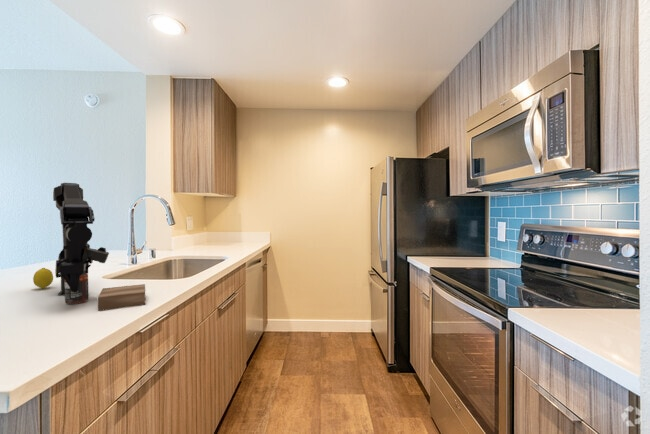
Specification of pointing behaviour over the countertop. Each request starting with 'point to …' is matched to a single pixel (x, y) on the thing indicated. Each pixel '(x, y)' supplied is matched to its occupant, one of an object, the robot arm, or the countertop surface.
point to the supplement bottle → (78, 291)
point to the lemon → (43, 278)
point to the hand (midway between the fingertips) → (76, 289)
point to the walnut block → (121, 297)
